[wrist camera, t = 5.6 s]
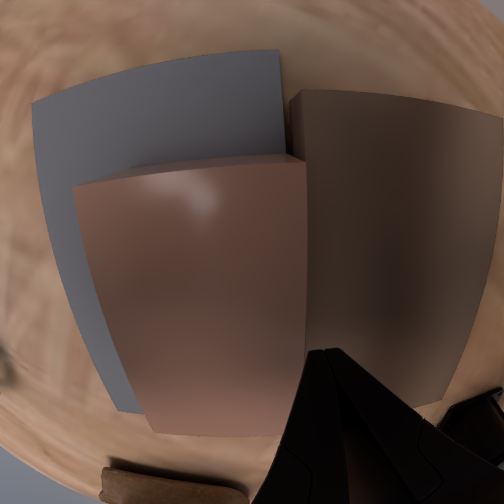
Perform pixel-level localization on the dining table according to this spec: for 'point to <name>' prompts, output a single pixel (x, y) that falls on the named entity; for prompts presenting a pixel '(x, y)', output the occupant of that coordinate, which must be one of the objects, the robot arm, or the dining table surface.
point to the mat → (144, 154)
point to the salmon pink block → (204, 287)
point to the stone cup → (162, 490)
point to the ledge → (397, 230)
